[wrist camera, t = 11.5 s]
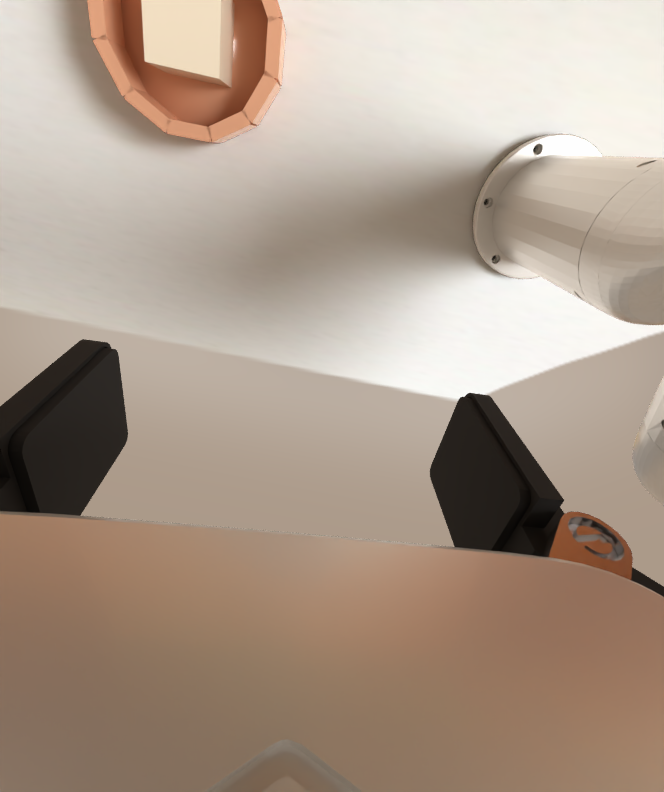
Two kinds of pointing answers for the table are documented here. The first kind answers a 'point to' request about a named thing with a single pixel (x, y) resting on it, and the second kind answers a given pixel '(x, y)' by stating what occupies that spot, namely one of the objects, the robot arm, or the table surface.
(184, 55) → the cream beige cube
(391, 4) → the table surface
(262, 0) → the bowl
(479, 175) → the table surface
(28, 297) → the table surface
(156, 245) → the table surface
